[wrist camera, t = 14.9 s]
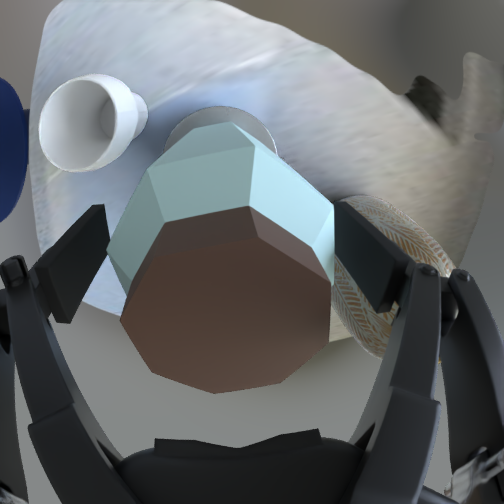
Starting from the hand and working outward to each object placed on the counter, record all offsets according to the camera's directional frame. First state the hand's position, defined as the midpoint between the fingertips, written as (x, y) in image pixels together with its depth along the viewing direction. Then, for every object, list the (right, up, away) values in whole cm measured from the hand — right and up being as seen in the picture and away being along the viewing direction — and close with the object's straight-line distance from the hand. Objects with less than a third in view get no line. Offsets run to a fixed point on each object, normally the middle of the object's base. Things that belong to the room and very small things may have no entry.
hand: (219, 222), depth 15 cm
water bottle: (-2, +8, +15) cm, 17 cm away
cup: (-16, +18, +18) cm, 30 cm away
